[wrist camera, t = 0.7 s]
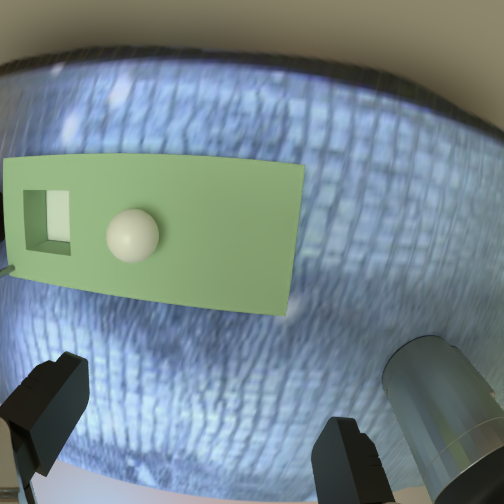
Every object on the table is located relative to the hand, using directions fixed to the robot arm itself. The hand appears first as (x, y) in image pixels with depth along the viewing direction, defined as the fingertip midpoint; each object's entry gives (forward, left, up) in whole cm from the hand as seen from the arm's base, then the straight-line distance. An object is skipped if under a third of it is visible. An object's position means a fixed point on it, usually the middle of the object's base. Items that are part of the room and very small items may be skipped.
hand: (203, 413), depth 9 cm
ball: (+8, -2, -14) cm, 16 cm away
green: (+10, -2, -20) cm, 23 cm away
